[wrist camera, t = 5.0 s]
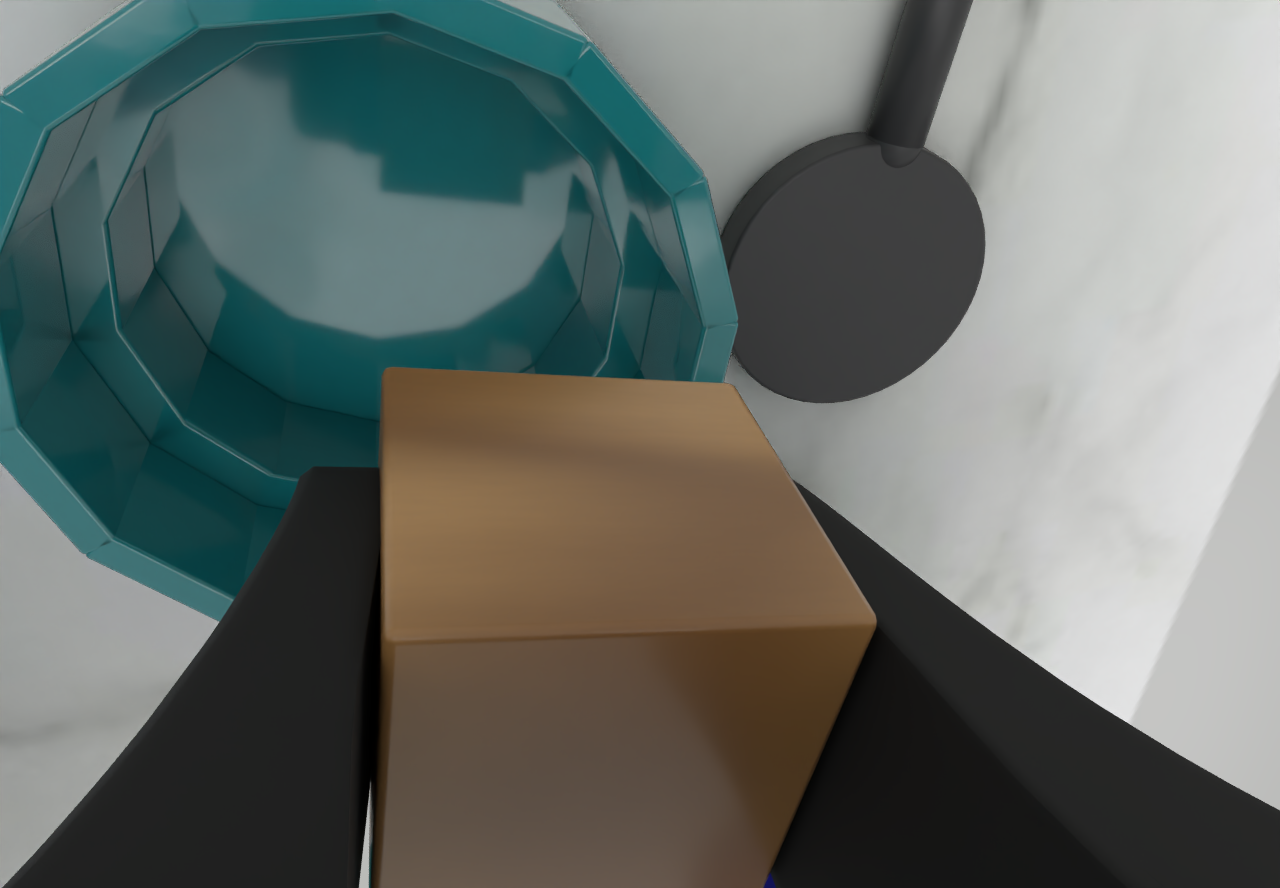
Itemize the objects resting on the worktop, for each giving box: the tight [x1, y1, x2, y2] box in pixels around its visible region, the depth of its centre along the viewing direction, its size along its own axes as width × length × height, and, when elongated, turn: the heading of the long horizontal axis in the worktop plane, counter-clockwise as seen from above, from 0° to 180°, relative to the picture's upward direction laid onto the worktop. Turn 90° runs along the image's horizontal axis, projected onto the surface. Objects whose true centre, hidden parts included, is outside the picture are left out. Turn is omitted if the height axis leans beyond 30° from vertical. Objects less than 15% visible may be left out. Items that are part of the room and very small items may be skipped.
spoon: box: [721, 0, 985, 403], centre depth 16 cm, size 10×5×1 cm, turn 169°
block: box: [369, 367, 877, 888], centre depth 8 cm, size 3×3×3 cm
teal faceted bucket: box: [0, 0, 738, 622], centre depth 13 cm, size 9×9×5 cm
